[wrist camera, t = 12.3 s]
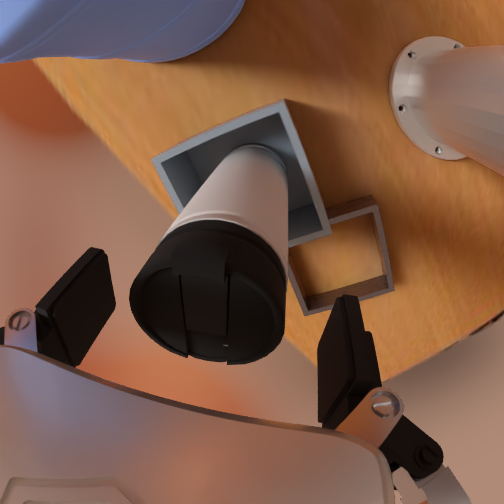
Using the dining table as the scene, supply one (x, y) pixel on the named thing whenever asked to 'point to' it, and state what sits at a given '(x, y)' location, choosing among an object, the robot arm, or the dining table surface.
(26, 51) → the water jug
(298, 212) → the grey bin
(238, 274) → the travel mug
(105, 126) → the dining table surface
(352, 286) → the metal collar
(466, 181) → the dining table surface
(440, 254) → the dining table surface
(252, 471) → the robot arm
